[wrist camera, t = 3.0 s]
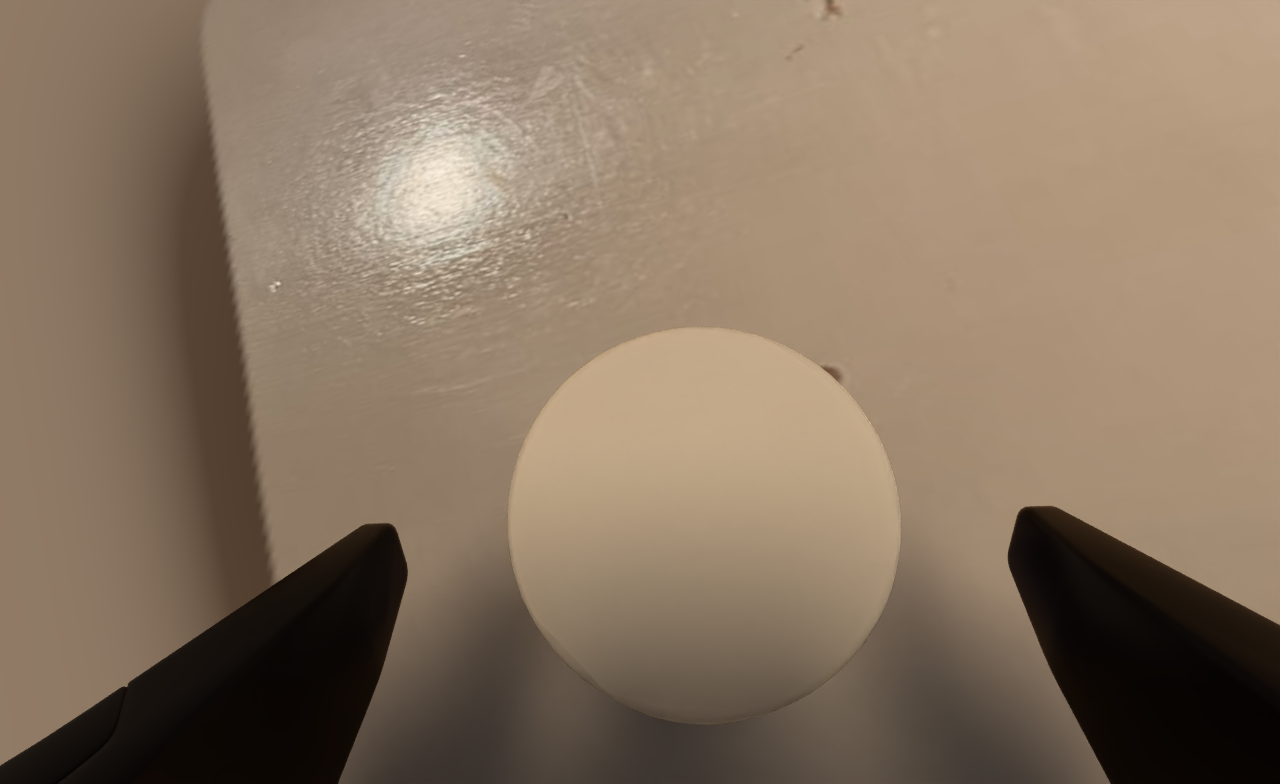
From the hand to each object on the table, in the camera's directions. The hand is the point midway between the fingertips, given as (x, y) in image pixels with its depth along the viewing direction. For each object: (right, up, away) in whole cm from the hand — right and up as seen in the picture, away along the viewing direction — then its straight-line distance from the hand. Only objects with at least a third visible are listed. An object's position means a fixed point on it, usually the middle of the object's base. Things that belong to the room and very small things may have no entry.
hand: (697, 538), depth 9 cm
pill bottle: (+1, -2, +8) cm, 8 cm away
